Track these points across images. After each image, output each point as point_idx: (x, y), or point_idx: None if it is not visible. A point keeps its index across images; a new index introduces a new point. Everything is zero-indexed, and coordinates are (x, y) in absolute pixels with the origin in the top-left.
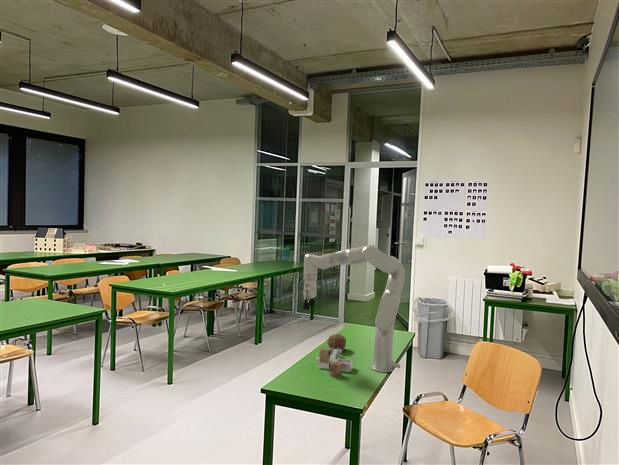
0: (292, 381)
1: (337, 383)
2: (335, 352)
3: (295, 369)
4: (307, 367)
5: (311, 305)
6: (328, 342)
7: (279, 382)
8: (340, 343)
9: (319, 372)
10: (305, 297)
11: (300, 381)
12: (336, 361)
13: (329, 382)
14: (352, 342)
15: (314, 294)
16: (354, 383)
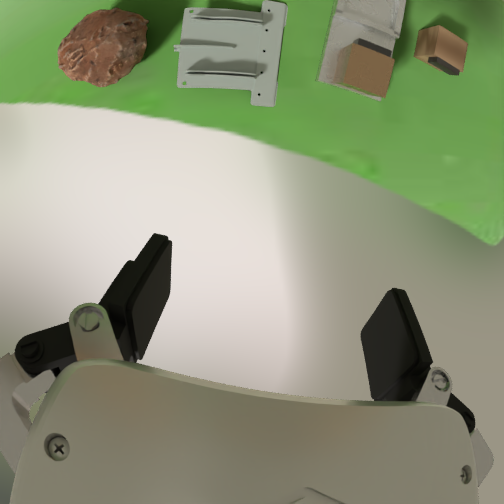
0: (477, 190)
1: (485, 65)
2: (210, 29)
3: (395, 180)
4: (372, 137)
5: (167, 273)
6: (122, 75)
7: (477, 222)
8: (142, 18)
9: (415, 99)
10: (481, 442)
11: (478, 169)
12: (386, 30)
13: (482, 86)
14: (37, 34)
15: (308, 473)
16: (475, 18)
